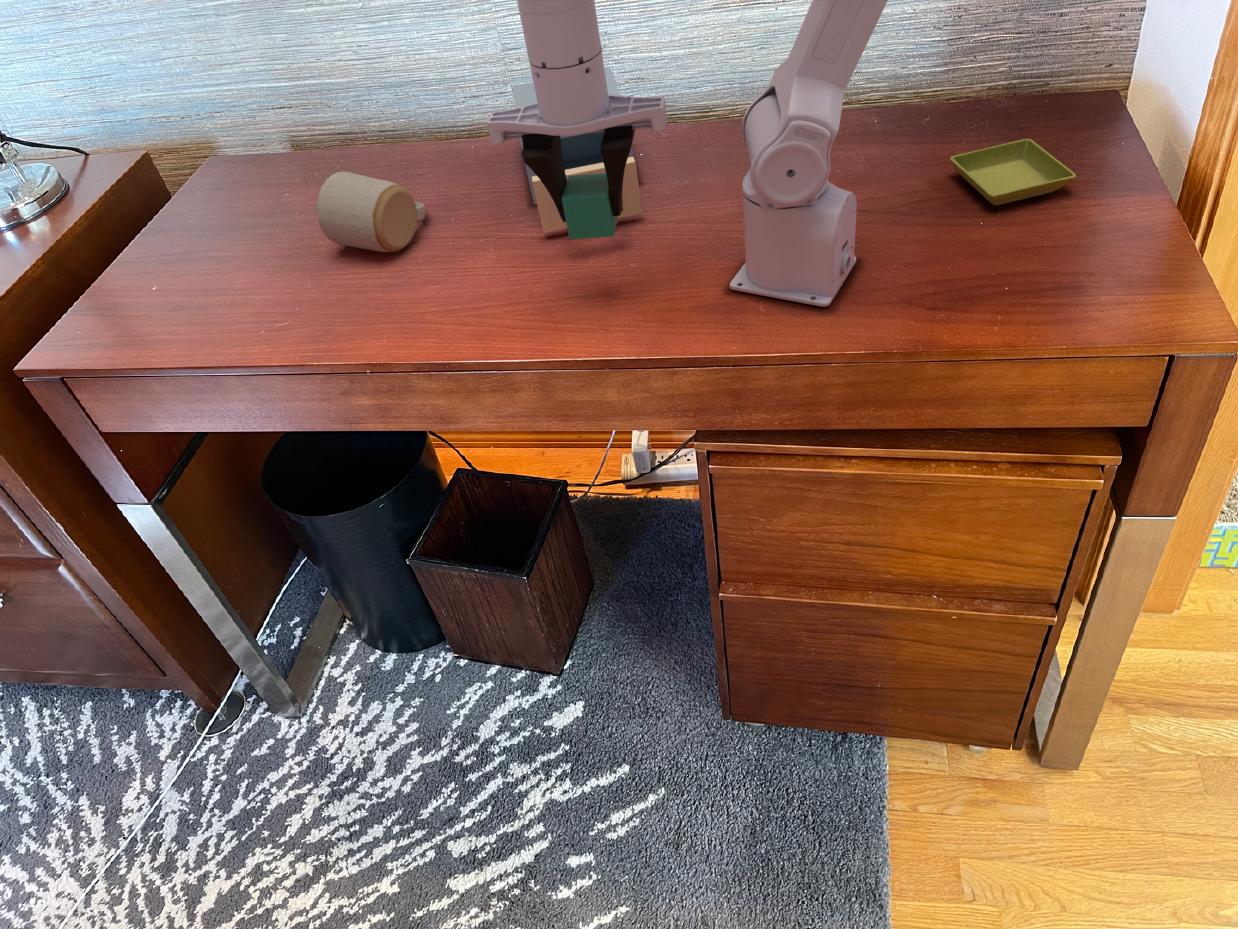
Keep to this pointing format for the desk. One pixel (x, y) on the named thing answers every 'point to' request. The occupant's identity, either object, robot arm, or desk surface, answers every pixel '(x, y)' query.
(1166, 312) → the desk surface
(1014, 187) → the olive green square dish
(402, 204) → the ceramic mug
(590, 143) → the drawer
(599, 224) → the green cube
